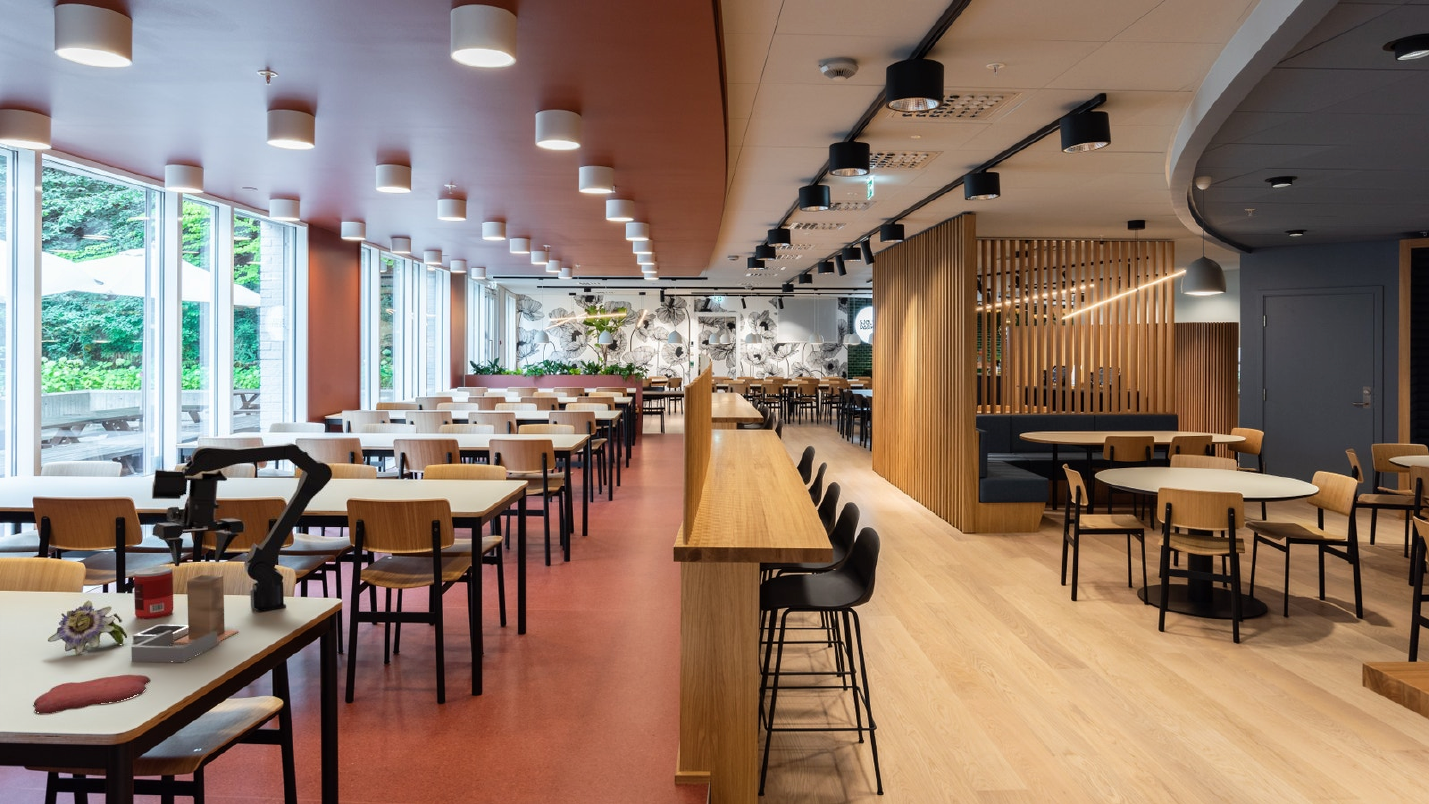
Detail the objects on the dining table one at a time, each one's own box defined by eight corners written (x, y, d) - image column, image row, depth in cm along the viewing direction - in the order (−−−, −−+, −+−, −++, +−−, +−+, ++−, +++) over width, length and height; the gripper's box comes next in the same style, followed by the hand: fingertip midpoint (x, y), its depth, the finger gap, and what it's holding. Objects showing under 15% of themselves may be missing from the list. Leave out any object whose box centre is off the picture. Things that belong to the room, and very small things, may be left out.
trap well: (158, 630, 199) (158, 624, 199) (192, 631, 198) (192, 625, 198) (133, 642, 191) (133, 635, 191) (168, 643, 190) (168, 636, 190)
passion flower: (81, 678, 184) (37, 640, 178) (90, 654, 193) (49, 617, 188) (131, 644, 186) (89, 606, 181) (138, 621, 196) (99, 584, 191)
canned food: (181, 610, 214) (179, 566, 214) (157, 620, 207) (155, 574, 206) (152, 609, 215) (150, 565, 215) (127, 619, 207) (125, 573, 207)
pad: (200, 631, 198) (200, 629, 198) (238, 632, 198) (238, 630, 198) (173, 644, 190) (173, 642, 190) (212, 645, 189) (212, 643, 189)
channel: (168, 643, 190) (168, 630, 189) (217, 645, 189) (217, 631, 189) (131, 661, 179) (131, 646, 178) (183, 662, 178) (182, 648, 178)
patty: (26, 719, 151) (26, 708, 151) (41, 693, 163) (40, 682, 163) (146, 700, 159) (146, 690, 159) (151, 676, 172) (151, 666, 171)
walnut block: (203, 632, 196) (202, 575, 196) (224, 632, 196) (223, 575, 195) (188, 639, 191) (187, 580, 191) (210, 640, 191) (208, 581, 191)
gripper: (224, 493, 221) (219, 554, 221) (143, 496, 205) (138, 562, 205) (248, 498, 215) (243, 561, 215) (167, 502, 199) (161, 570, 199)
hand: (197, 564), depth 208 cm, fingers open, 9 cm apart
